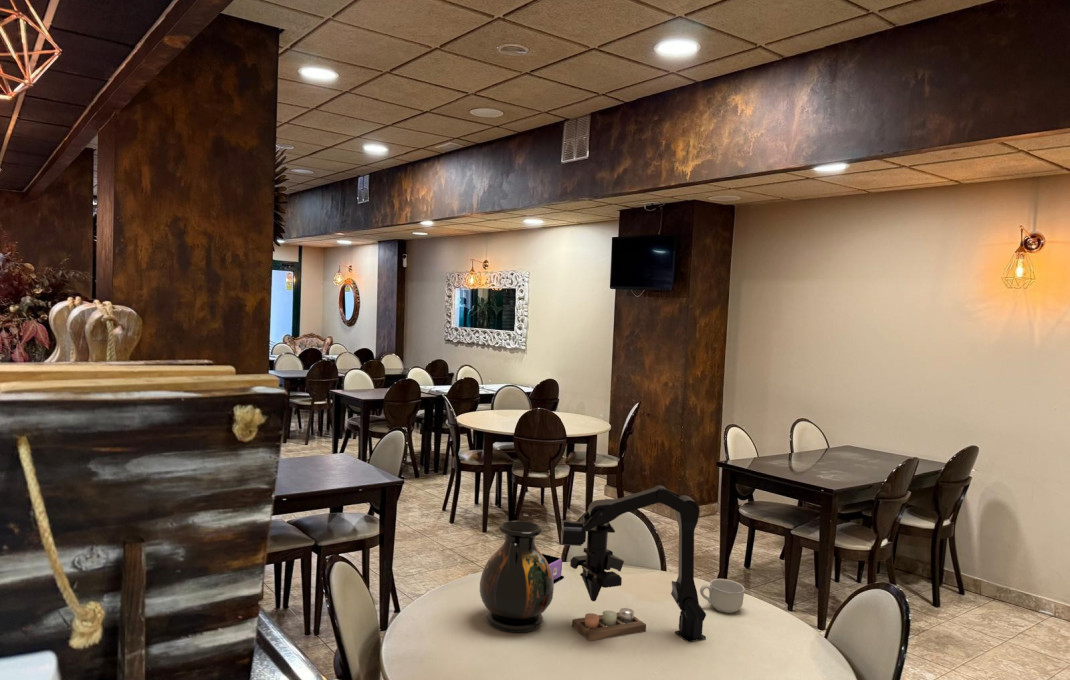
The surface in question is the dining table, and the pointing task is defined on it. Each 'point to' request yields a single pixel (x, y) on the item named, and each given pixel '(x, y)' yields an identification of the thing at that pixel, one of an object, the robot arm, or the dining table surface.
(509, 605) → the amphora vase
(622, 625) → the button panel
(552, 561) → the dollhouse room
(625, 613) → the grey button
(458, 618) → the dining table surface
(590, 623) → the terracotta button
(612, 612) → the sage button
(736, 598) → the teacup
